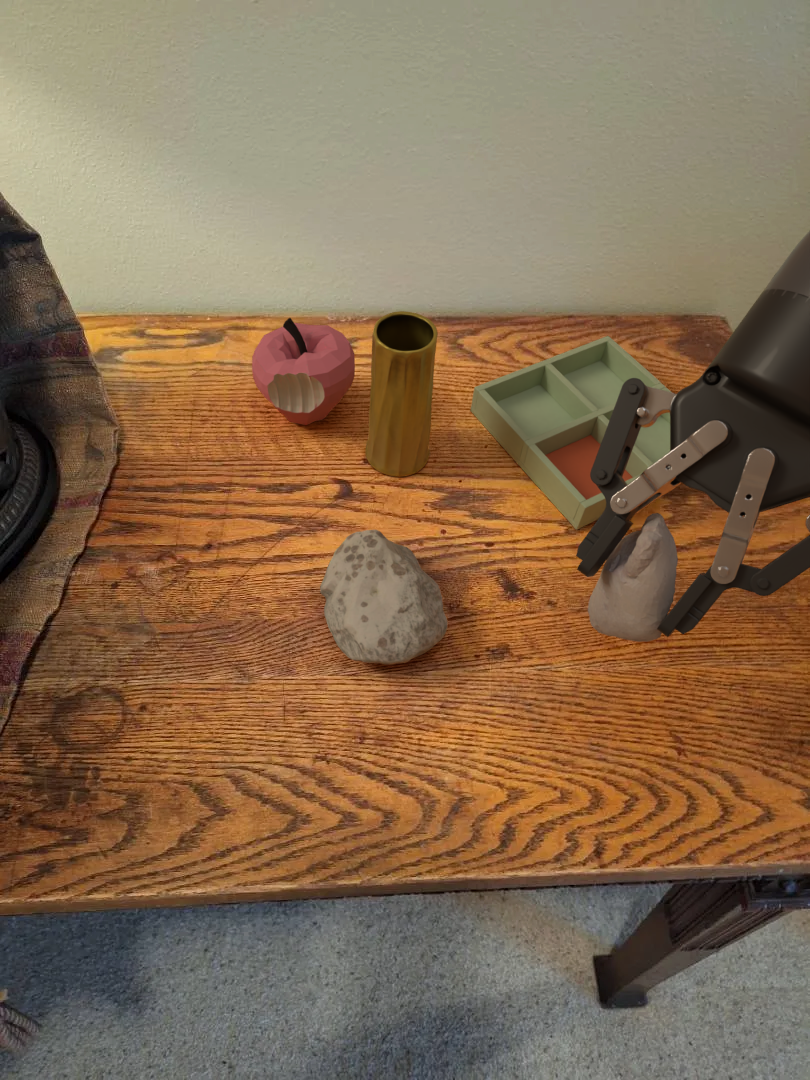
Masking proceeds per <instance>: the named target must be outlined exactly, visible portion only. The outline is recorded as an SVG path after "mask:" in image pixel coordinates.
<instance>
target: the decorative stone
mask: <svg viewBox="0 0 810 1080" xmlns="http://www.w3.org/2000/svg"><path fill="white" fill-rule="evenodd" d="M319 586H320V587H319V592H320V594H321V595H322V596H323V597H324V598H325V604H324V607H323V614H324V615H323V616H324V619H325V621H326V624H327V628H328V629H329V632H330V633H331V635H332V638H333V640H334V641H335V643H336V645H337V647H338V648H339V650H340V651H341V652H342V653H343V654H344V655H345V656H346V657H347V658H348V659H349V660H351V661H355V662H362V663H367V664H382V665H395V664H405V663H408V662H410V661H411V660H412V659H414V658H417V657H420V656H422V655H424V654H426V653H427V652H429V651H430V650H431V649H432V648H434V647H435V646H436V644H438V643H439V642H440V641H441V640H442V639H443V638H445V635H446V633H447V630H448V625H449V622H448V618H447V616H446V614H445V611H444V602H443V595H442V591H441V588H440V585H439V584H438V583H437V581H436V580H435V579H433V577H431V576H430V575H428V573H426V572H425V571H424V570H423V569H422V567H421V565H420V563H419V561H418V559H417V556H416V555H415V554H414V552H413V551H412V550H411V549H410V548H409V547H407V546H405V545H402V544H398V543H395V542H393V541H391V540H390V539H388V537H386V536H385V535H384V534H383V533H382V532H381V531H380V530H379V529H366V530H365V529H364V530H362V531H355V532H353V533H351V534H349V535H347V536H346V537H345V539H344V540H343V541H342V542H341V544H339V546H338V547H337V548H335V551H334V552H333V555H332V557H331V559H330V561H329V563H328V564H327V567H326V569H325V573H324V575H323V578H322V581H321V583H320V585H319Z"/></svg>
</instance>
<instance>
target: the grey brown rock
mask: <svg viewBox="0 0 810 1080" xmlns="http://www.w3.org/2000/svg"><path fill="white" fill-rule="evenodd" d="M640 528H641V529H640V530H636V531H632V532H631V533H629V534H626V535H624V537H623V538H622V540H621V541H620V542H619V544H618V545H617V546H616V548H615V549H614V550H613V552H612V553H611V554H610V556H609V557H608V558H607V560H606V561H605V562H604V564H603V567H602V569H601V572H600V576H599V578H598V579H597V582H596V584H595V587H594V588H593V590H592V593H591V594H590V597H589V600H588V605H587V613H588V617H589V622H590V623H589V624H590V625H591V627H592V628H593V629H594V630H596V631H597V633H598V634H601V635H605V636H607V637H613V638H614V637H615V638H618V639H622V640H626V641H631V642H638V643H647V642H652V641H655V640H657V639H659V638H661V636H662V634H663V633H661V632H660V631H659V630H657V628H658V626H659V625H660V624H661V622H662V621H663V620H664V619H665V617H666V616H667V615H668V614H669V612H670V611H671V606H672V604H673V602H674V596H675V593H676V580H677V567H678V564H679V563H678V562H679V561H678V560H679V558H678V551H677V549H678V548H677V545H676V542H675V538H674V536H673V533H672V532H671V531H670V529H669V527H668V526H667V524H666V522H665V518H664V516H663V515H662V514H661V513H659V512H653V513H651V514H649V515H648V516H647V517H646V518H645V521H644V523H643V524H642V527H640Z"/></svg>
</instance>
